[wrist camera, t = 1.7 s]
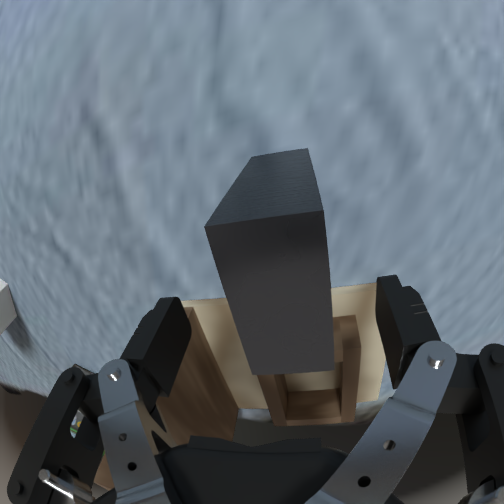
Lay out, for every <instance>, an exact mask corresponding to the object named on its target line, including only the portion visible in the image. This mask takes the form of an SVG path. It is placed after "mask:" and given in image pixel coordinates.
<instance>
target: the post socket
mask: <svg viewBox="0 0 504 504" xmlns="http://www.w3.org/2000/svg"><path fill="white" fill-rule="evenodd" d="M331 296H332V312H333V333H334V366H335V370H332V371H321V372H309V373H294V374H274V375H252V372H251V369H250V367H249V364H248V361H247V358H246V355H245V352H244V349H243V346H242V343H241V341H240V338H239V335H238V332H237V329H236V326H235V323H234V320H233V317H232V314H231V311H230V308H229V304H228V301H227V298H219V299H204V300H189V301H181V303H182V305H183V307H184V310H185V312H186V314H187V317H188V319H189V321H190V324H191V328H192V335H191V339H190V341H189V344H188V347H187V349H186V352H185V355H184V357H183V360H182V363H181V365H180V368H179V371H178V373H177V376H176V379H175V382H174V384H173V387H172V390H171V393H170V395H169V397H160V396H158V398H157V400H156V402H157V404H158V405H159V407H160V410H161V412H162V415H163V417H164V419H165V422H166V424H167V426H168V429H169V431H170V433H171V435H172V437H173V439H174V441H175V442H176V444H177V445H182V444H186V443H189V439H190V436H191V435H194V436H203V437H214V438H222V439H225V440H228V441H231V442H232V439H233V435H234V430H235V425H236V420H237V415H238V410H239V408H244V409H269V412H270V415H271V418H272V421H273V423H274V426H302V425H319V424H332V423H342V422H351V421H354V417H355V410H356V403H359V402H366V401H373V400H378V396H379V391H380V386H381V381H382V376H383V371H384V365H385V359H386V357H385V353H384V349H383V345H382V341H381V337H380V334H379V330H378V326H377V322H376V316H375V303H376V283H369V284H361V285H353V286H345V287H336V288H331ZM94 482H95V483H96V484H98V485H100V486H102V487H103V488H105V489H107V490H111V489H112V488H114V487H115V486H114V483H113V479H112V476H111V473H110V469H109V465H108V462H107V458H106V454H104V456H103V459H102V461H101V463H100V465H99V468H98V470H97V473H96V475H95V478H94Z"/></svg>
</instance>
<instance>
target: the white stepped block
mask: <svg viewBox="0 0 504 504" xmlns="http://www.w3.org/2000/svg"><path fill="white" fill-rule="evenodd" d="M16 317H17V314H16V311H15V308H14V304H13V301H12V297H11V294H10V290H9V286H8V284H7V283H6V282H4V281H3V280H1V279H0V335H1V334H2V333H3V332H4V331H5V329H6V328H7V327H8V326H9V325H10V324H11V322H12V321H13V320H14V319H15V318H16Z"/></svg>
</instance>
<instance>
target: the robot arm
mask: <svg viewBox="0 0 504 504" xmlns="http://www.w3.org/2000/svg"><path fill="white" fill-rule="evenodd" d="M375 316H376V322H377V326H378V330H379V334H380V337H381V341H382V345H383V349H384V353H385V357H386V361H387V365H388V369H389V373H390V378H391V382H392V387H393V389H397V390H396V391H395V393H394V395H393V396H392V397H389V398H388V400H387V401H386V402H385V404H384V405H383V407H382V408H381V410H380V412H379V413H378V415H377V416H376V418H375V419H374V421H373V422H372V424H371V425H370V427H369V428H368V430H367V431H366V432H365V434H364V435H363V437H362V438H361V439H360V441H359V442H358V444H357V445H356V446H355V448H354V449H353V450H352V452H351V453H350V454H347V453H345V452H343V451H340V450H338V449H335V448H332V447H327V446H321V438H310V439H289V440H283V441H279V442H274V443H270V444H265V445H261V446H255V447H249V446H245V445H241V444H238V443H235V442H231V441H228V440H225V439H222V438H214V437H203V436H194V435H191V436H190V439H189V443H186V444H182V445H177V444H176V442H175V441H174V439H173V437H172V435H171V433H170V431H169V429H168V426H167V424H166V422H165V419H164V417H163V415H162V412H161V410H160V407H159V405H158V404H157V402H156V400H157V398H158V396H160V397H169V395H170V393H171V390H172V387H173V384H174V382H175V379H176V376H177V373H178V371H179V368H180V365H181V363H182V360H183V357H184V355H185V352H186V349H187V347H188V344H189V341H190V339H191V335H192V328H191V324H190V321H189V319H188V317H187V314H186V312H185V310H184V307H183V305H182V303H181V301H180V299H179V298H178V297H166V298H160V299H159V300H158V302H157V304H156V306H155V307H154V309H153V310H150V311H149V312H148V313H147V314H146V315H145V316H144V317H143V318H142V320H141V321H140V323H139V325H138V328H136V330H135V332H134V335H133V336H132V337H131V339H130V341H129V343H128V344H127V346H126V348H125V350H124V352H123V353H122V355H121V357H120V359H115V360H112V361H109V362H108V363H106V364H105V365H104V366H103V367H102V368H101V370H100V371H99V373H96V374H91V375H85V374H84V373H83V371H82V370H81V369H80V368H78V367H71V368H69V369H67V370H65V371H64V372H63V373H62V374H61V375H60V376H59V378H58V380H57V381H56V383H55V385H54V387H53V389H52V391H51V392H50V394H49V396H48V398H47V400H46V402H45V404H44V406H43V407H42V409H41V412H40V413H39V415H38V417H37V420H36V421H35V423H34V425H33V428H32V430H31V432H30V434H29V436H28V438H27V440H26V442H25V445H24V447H23V449H22V451H21V453H20V456H19V458H18V461H17V463H16V465H15V467H14V470H13V472H12V475H11V477H10V480H9V482H8V486H7V494H8V497H9V499H10V501H11V502H12V503H13V504H404V503H403V502H402V501H401V500H399V499H398V498H397V497H396V496H395V495H394V494H393V493H392V491H393V490H394V488H395V487H396V485H397V484H398V482H399V481H400V479H401V477H402V476H403V475H404V473H405V471H406V470H407V468H408V466H409V465H410V463H411V462H412V460H413V458H414V456H415V454H416V453H417V451H418V449H419V447H420V446H421V444H422V442H423V440H424V438H425V436H426V434H427V432H428V430H429V428H430V426H431V424H432V422H433V420H434V418H435V414H436V413H450V414H451V413H452V414H453V413H454V414H456V418H457V423H458V428H459V433H460V439H461V444H462V450H463V457H464V463H465V470H466V480H467V490H468V494H467V495H466V496H464V497H463V498H462V499H461V500H460V502H459V503H458V504H504V346H503V345H500V344H489V345H487V346H485V347H484V348H483V349H482V350H481V352H480V354H479V355H469V354H458V353H455V351H454V349H453V348H452V347H451V346H450V345H449V344H447V343H445V342H442V341H441V339H440V337H439V335H438V332H437V330H436V328H435V326H434V324H433V321H432V319H431V317H430V315H429V313H428V312H427V309H426V307H425V304H424V302H423V300H422V298H421V296H420V294H419V293H418V292H417V291H416V290H414V289H413V288H412V287H411V286H405V287H402V285H401V283H400V281H399V279H398V277H397V275H389V276H382V277H377V283H376V303H375ZM78 410H79V411H80V412H81V413H82V414H83V415H84V417H83V419H82V421H81V424H80V426H79V428H78V431H77V433H76V435H75V438H74V437H73V436H72V435H71V432H70V427H71V424H72V422H73V420H74V417H75V415H76V413H77V411H78ZM104 450H105V454H106V458H107V462H108V465H109V469H110V473H111V476H112V479H113V483H114V486H115V487H114V488H112V489H111V490H109V491H108V492H107V493H105V494H103V495H102V496H101V497H99V498H97V499H95V498H94V497H93V496H92V491H91V488H92V485H93V482H94V478H95V475H96V472H97V469H98V466H99V463H100V460H101V458H102V455H103V452H104Z"/></svg>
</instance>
